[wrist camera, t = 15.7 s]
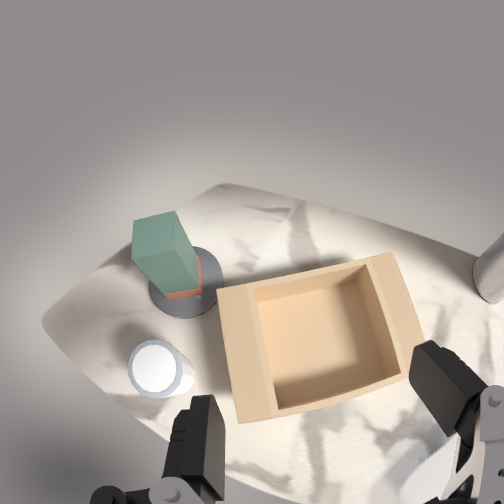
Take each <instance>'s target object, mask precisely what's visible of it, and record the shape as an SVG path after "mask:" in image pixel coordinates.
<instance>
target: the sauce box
mask: <svg viewBox="0 0 504 504" xmlns="http://www.w3.org/2000/svg"><path fill="white" fill-rule="evenodd" d="M131 260H132V261H133V262H134V263H135V264H136V265H137V266H138V267H139V268H140V269H141V271H142V272H143V273H144V274H145V275H146V276H147V277H148V278H149V279H150V280H151V281H152V282H153V283H154V284H155V285H156V286H157V287H158V289H159V290H160V291H161V292H162V293H163V294H164V295H165V296H166V297H167V298H168V299H169V300H172V299H178V298H184V297H190V296H196V295H202V294H204V290H203V281H202V271H201V262H200V260H199V258H198V256H197V255H196V253H195V251H194V249H193V247H192V245H191V243H190V241H189V239H188V237H187V235H186V233H185V231H184V229H183V227H182V225H181V223H180V221H179V219H178V217H177V215H176V213H175V211H172V212H168V213H164V214H160V215H155V216H151V217H147V218H143V219H139V220H135V221H134V226H133V238H132V251H131Z"/></svg>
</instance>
